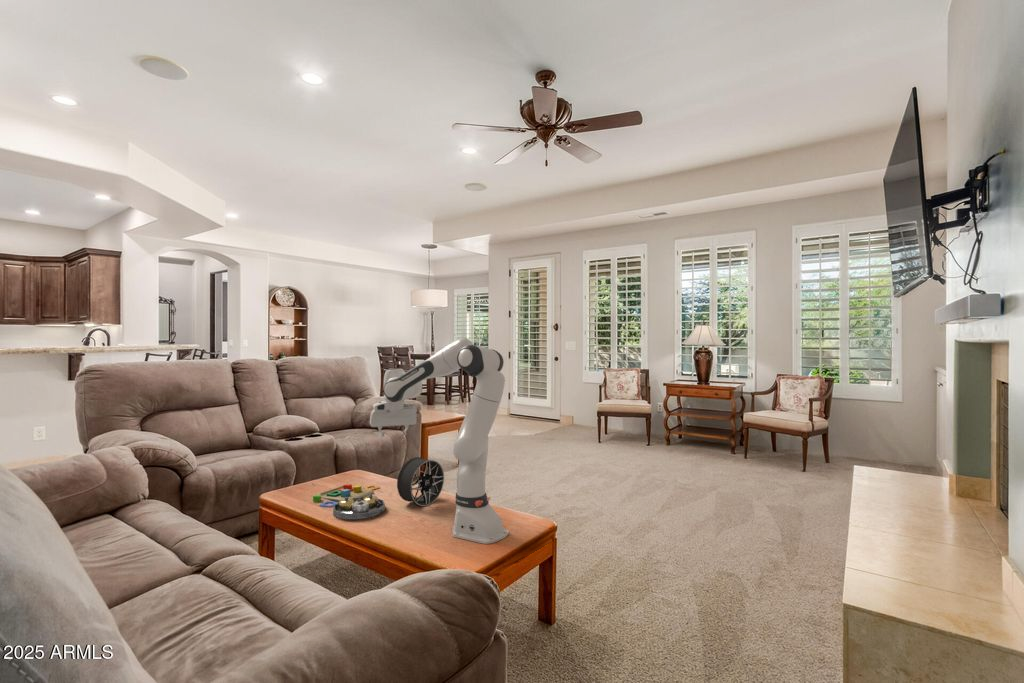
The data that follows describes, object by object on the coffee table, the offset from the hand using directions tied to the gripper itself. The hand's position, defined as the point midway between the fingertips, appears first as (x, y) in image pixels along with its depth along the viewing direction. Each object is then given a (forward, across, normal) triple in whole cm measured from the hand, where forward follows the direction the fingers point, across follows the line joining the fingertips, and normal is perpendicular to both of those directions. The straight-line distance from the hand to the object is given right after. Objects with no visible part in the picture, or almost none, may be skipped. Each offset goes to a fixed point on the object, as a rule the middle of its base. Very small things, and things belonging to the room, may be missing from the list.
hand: (393, 435), depth 218 cm
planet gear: (+30, +14, +8) cm, 34 cm away
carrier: (+31, +14, +3) cm, 34 cm away
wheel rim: (+31, -12, +1) cm, 34 cm away
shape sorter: (+32, +18, -22) cm, 42 cm away
